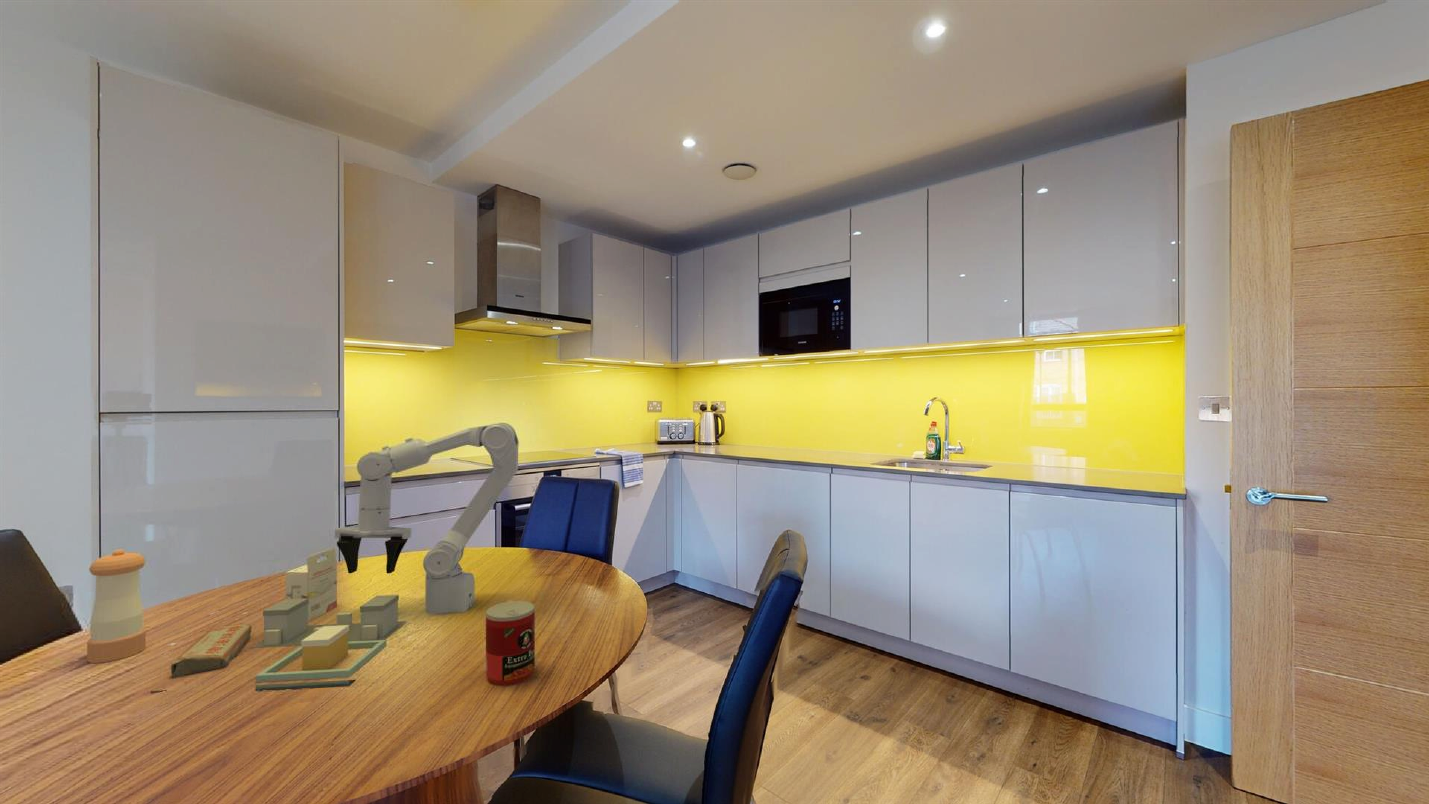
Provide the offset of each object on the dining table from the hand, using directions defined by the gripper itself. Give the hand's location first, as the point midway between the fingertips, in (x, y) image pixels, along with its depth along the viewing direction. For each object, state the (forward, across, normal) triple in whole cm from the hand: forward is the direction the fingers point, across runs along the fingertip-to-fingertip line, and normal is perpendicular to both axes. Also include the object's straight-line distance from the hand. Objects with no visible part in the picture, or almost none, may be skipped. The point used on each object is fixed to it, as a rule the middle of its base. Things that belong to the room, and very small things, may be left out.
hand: (371, 572), depth 115 cm
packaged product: (+12, -17, -18) cm, 27 cm away
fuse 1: (+9, -10, -10) cm, 17 cm away
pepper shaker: (+12, -39, -11) cm, 42 cm away
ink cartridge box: (+11, -13, +2) cm, 17 cm away
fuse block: (+11, -2, -10) cm, 15 cm away
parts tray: (+10, +4, -23) cm, 25 cm away
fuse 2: (+9, +7, -10) cm, 15 cm away
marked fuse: (+10, +4, -23) cm, 25 cm away
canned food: (+9, +36, -28) cm, 47 cm away
